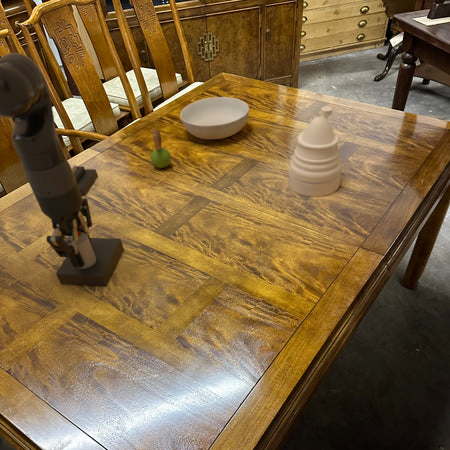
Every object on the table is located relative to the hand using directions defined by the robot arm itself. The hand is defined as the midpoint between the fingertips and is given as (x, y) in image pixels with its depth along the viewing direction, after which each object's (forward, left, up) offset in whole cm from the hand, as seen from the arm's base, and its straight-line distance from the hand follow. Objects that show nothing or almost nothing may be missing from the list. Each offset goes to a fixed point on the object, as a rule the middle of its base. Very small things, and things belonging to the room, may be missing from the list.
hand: (84, 257), depth 86 cm
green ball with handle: (+5, +44, -4) cm, 44 cm away
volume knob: (0, 0, -1) cm, 1 cm away
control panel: (0, +2, -4) cm, 5 cm away
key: (-18, +34, -1) cm, 38 cm away
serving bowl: (+17, +66, -4) cm, 68 cm away
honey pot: (+47, +37, -4) cm, 60 cm away
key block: (-18, +34, -4) cm, 39 cm away
